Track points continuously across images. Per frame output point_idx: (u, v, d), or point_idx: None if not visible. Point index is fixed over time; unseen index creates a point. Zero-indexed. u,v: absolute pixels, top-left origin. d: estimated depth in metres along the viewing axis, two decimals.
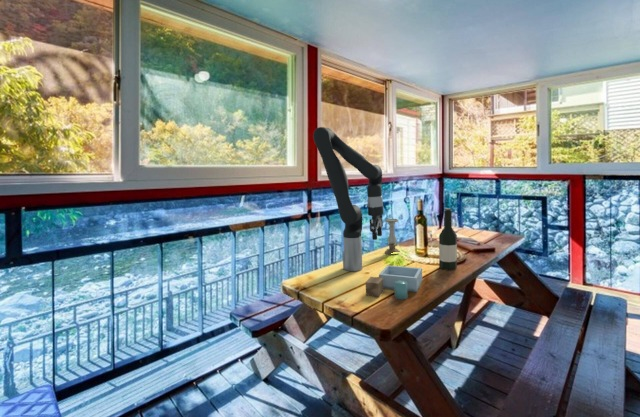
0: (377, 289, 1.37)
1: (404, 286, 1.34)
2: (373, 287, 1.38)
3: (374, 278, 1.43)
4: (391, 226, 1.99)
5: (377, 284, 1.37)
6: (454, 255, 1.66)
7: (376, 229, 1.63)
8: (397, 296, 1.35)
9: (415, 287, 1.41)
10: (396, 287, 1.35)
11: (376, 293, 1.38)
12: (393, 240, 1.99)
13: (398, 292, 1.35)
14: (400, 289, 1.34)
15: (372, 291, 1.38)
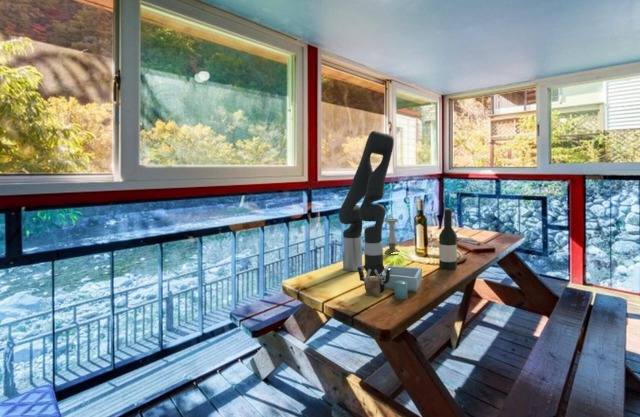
0: (377, 289, 1.37)
1: (404, 286, 1.34)
2: (373, 287, 1.38)
3: (374, 278, 1.43)
4: (391, 226, 1.99)
5: (377, 284, 1.37)
6: (454, 255, 1.66)
7: (383, 279, 1.40)
8: (397, 296, 1.35)
9: (415, 287, 1.41)
10: (396, 287, 1.35)
11: (376, 293, 1.38)
12: (393, 240, 1.99)
13: (398, 292, 1.35)
14: (400, 289, 1.34)
15: (372, 291, 1.38)
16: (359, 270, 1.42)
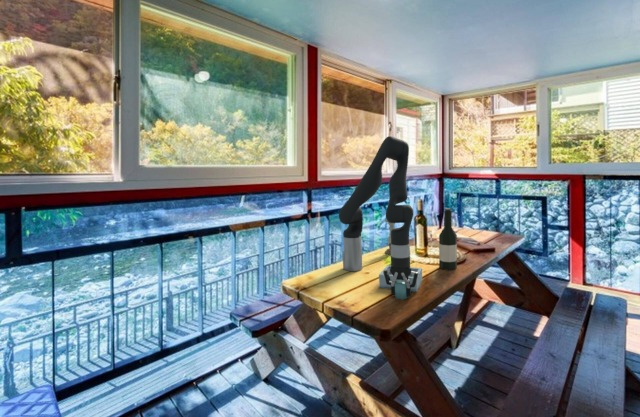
0: None
1: (404, 286, 1.34)
2: None
3: None
4: (391, 226, 1.99)
5: None
6: (454, 255, 1.66)
7: (409, 283, 1.36)
8: (397, 296, 1.35)
9: (415, 287, 1.41)
10: (396, 287, 1.35)
11: None
12: None
13: (398, 292, 1.35)
14: (400, 289, 1.34)
15: None
16: (385, 273, 1.37)
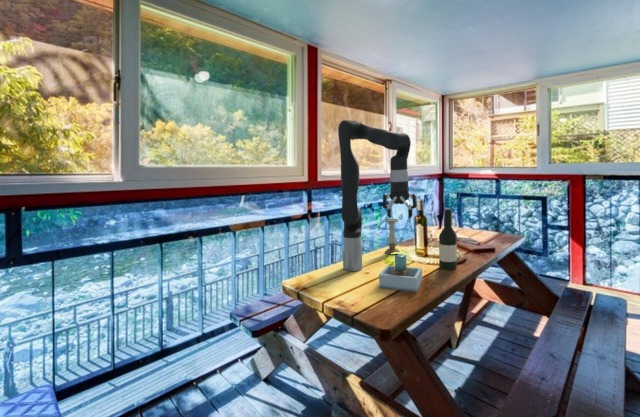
0: None
1: (403, 258, 1.47)
2: (400, 275, 1.47)
3: None
4: (391, 226, 1.99)
5: (404, 272, 1.46)
6: (454, 255, 1.66)
7: None
8: (397, 268, 1.48)
9: (415, 287, 1.41)
10: (396, 260, 1.48)
11: None
12: (393, 240, 1.99)
13: (398, 264, 1.47)
14: (400, 261, 1.47)
15: None
16: (384, 197, 1.47)
